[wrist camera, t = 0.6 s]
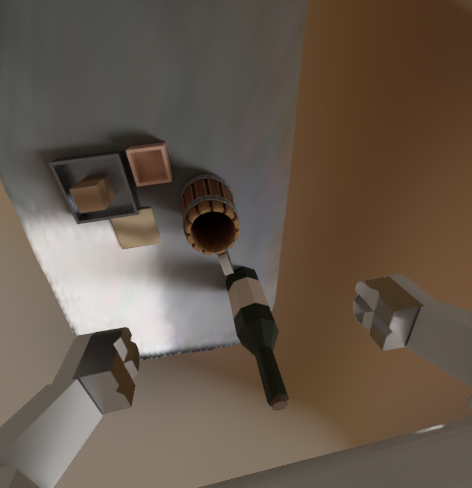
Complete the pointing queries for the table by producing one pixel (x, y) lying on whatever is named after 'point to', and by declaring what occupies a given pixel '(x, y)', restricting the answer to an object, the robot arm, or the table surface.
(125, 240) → the light wooden board
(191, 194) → the mug
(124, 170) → the tin
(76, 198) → the walnut block
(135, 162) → the terracotta pot
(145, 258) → the table surface
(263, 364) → the wine bottle
